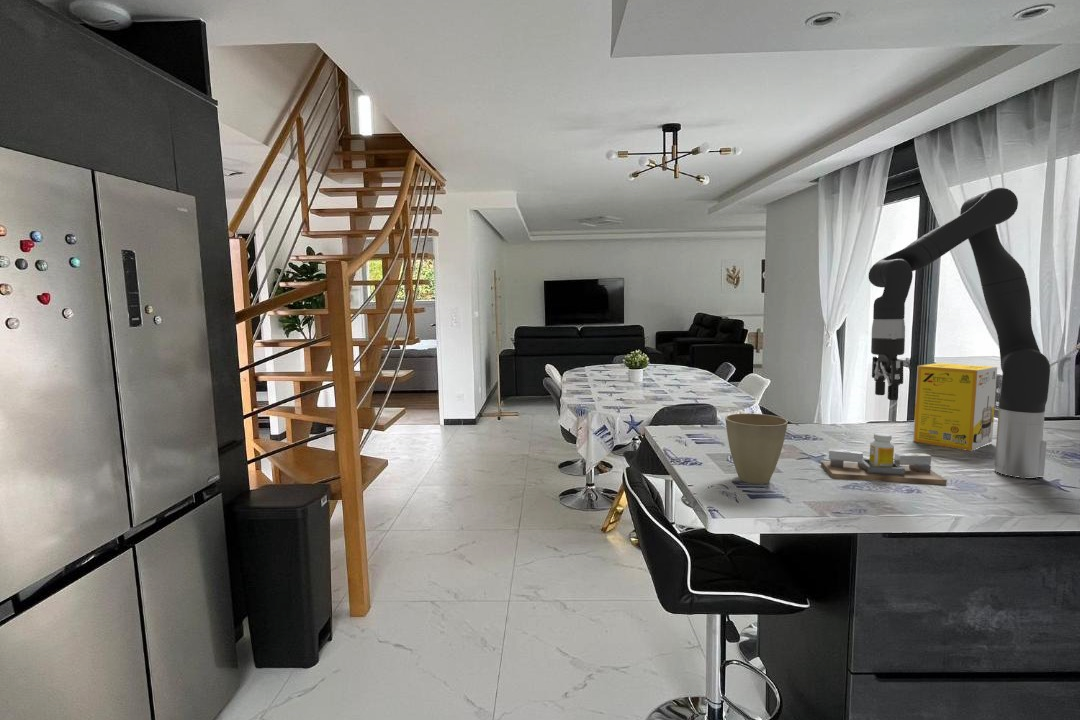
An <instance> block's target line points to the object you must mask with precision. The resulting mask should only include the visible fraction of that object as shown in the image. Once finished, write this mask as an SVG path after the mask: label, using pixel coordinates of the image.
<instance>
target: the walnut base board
mask: <svg viewBox="0 0 1080 720" xmlns="http://www.w3.org/2000/svg"><path fill="white" fill-rule="evenodd" d="M820 466H821V467H822V469H824V470H825V472H826V473H827V474H828V475H829V476H830V477H831V478H832V479H843V480H844V479H845V480H859V481H861V480H862V481H874V482H875V481H876V482H894V483H907V484H908V483H910V484H928V485H942V486H943V485H944V486H947V482H948V481H947V479H946V478H944V477H942V476H941V475H939V474H938V473H936V472H935V471H933V470H931V471H930V472H917V471H914V470H912V469H910V468H909V465H901V466H902V467H903V468H904V469H905V476H899V475H881V474H868V473H866V472H865V471H864V470H863V469H862V468H861V467H859V466H858V462H844V463H843V468H836V467H831V466H830V461H820Z"/></svg>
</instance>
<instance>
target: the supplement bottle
mask: <svg viewBox="0 0 1080 720" xmlns="http://www.w3.org/2000/svg"><path fill="white" fill-rule="evenodd" d="M892 438H893V437H892V434H890V433H886V432H885V433H884V432H874V433H873V440H872V441H871V442H870V445H869V458H868V459H869V465H870V466H879V467H893V461H894V456H895V451H894V450H895V445H894V443H893V442H891V441H892Z"/></svg>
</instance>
